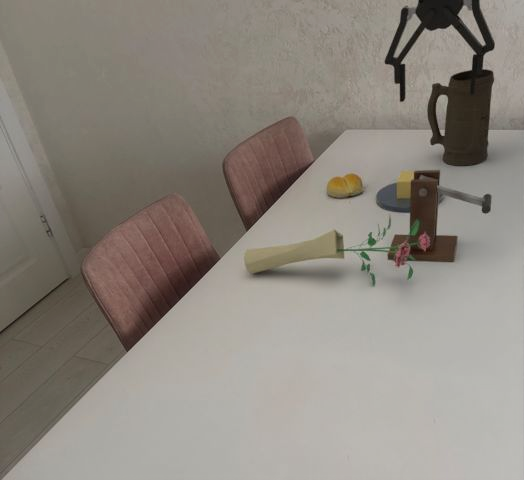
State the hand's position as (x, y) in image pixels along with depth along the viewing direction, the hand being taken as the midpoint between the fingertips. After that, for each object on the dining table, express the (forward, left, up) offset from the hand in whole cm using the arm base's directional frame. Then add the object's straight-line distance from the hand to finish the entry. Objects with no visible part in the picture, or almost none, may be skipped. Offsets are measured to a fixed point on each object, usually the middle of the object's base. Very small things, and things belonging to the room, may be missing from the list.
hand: (436, 96), depth 102 cm
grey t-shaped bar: (-6, +26, -11) cm, 29 cm away
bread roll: (+21, -2, -21) cm, 30 cm away
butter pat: (+5, +2, -20) cm, 20 cm away
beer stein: (-3, -22, -21) cm, 31 cm away
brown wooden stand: (-1, +26, -21) cm, 33 cm away
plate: (+5, +2, -21) cm, 22 cm away
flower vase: (+14, +37, -21) cm, 45 cm away
